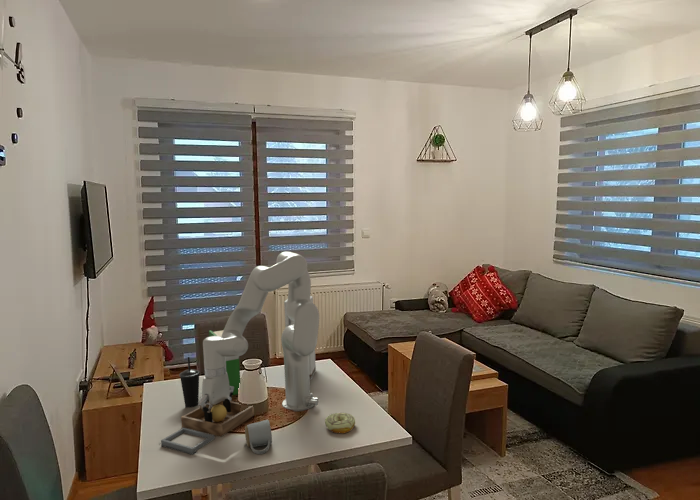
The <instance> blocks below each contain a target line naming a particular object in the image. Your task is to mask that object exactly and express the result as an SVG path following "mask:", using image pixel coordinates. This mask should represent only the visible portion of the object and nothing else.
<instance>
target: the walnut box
mask: <svg viewBox="0 0 700 500" xmlns="http://www.w3.org/2000/svg"><path fill="white" fill-rule="evenodd" d="M230 402H231V412H227V415H226V417H225V419H224V420H222V421H220V422H215V421H213V422H207V421H205V418H204V412H203V411H202V410H201V409H200V407H199V406H198V407H197V408H195V409H193V410H191V411H190V412H188V413H186V414H184V415H181V417H180V419H181V428H187V429H191V430H195V431H199V432H203V433H207V434H211V435H214V436H216V437H219V438H220V437H223V436H224V435H226V434H228V433H229V432H231V431H232V430H234V429H236V428H237V427H238V426H240V425H242V424H243V423H246V421H248V420H250V419H251V418H253V417H254V416H255V407H253V406H254V405H252V406H248V408H246V409H245V410H243V411H241V412H240V408H241V404H239V403H240V402H236V401H233V400H231V401H230ZM209 403H210V402H209ZM218 404H220V405H223V401H221V402H219V403H217V404H216V405H218ZM204 405H205V404H204ZM209 406H210V405H208V407H207V408H209ZM213 406H215V405H213Z"/></svg>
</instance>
